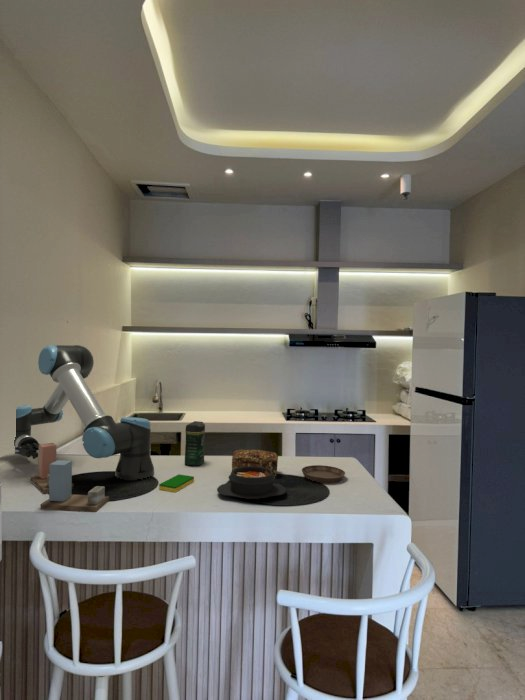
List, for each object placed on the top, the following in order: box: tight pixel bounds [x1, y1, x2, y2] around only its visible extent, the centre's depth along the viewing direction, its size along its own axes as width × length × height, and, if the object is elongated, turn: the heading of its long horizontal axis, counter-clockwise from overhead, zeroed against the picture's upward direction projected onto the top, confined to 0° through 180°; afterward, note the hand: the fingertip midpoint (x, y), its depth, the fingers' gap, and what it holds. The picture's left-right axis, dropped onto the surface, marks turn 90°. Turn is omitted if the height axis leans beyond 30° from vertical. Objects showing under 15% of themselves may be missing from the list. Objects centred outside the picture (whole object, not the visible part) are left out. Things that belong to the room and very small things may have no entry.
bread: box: [231, 449, 279, 477], centre depth 190 cm, size 19×11×10 cm, turn 86°
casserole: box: [216, 466, 287, 500], centre depth 165 cm, size 25×19×8 cm
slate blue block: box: [48, 459, 73, 502], centre depth 152 cm, size 5×5×12 cm
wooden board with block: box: [39, 485, 110, 513], centre depth 151 cm, size 18×10×6 cm, turn 86°
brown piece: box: [29, 475, 75, 495], centre depth 171 cm, size 18×10×6 cm, turn 41°
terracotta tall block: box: [37, 442, 57, 479], centre depth 175 cm, size 5×5×12 cm
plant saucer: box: [301, 464, 346, 484], centre depth 187 cm, size 18×18×3 cm
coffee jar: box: [184, 420, 206, 466], centre depth 203 cm, size 10×8×19 cm
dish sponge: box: [158, 473, 195, 493], centre depth 173 cm, size 7×14×2 cm, turn 159°
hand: (42, 456), depth 179 cm, fingers closed
